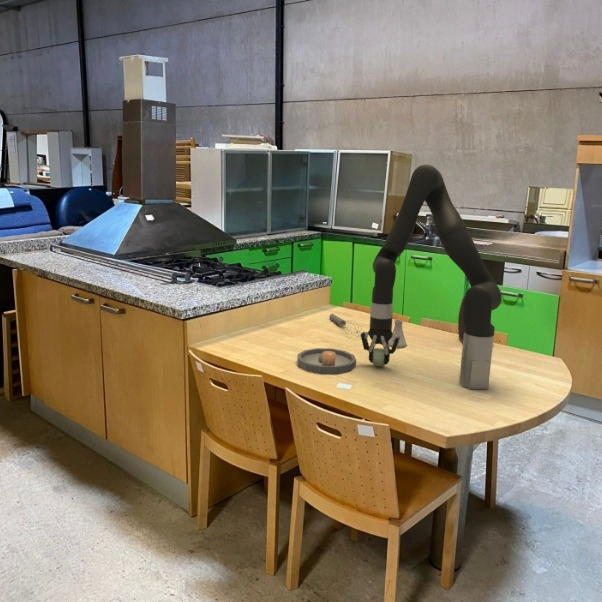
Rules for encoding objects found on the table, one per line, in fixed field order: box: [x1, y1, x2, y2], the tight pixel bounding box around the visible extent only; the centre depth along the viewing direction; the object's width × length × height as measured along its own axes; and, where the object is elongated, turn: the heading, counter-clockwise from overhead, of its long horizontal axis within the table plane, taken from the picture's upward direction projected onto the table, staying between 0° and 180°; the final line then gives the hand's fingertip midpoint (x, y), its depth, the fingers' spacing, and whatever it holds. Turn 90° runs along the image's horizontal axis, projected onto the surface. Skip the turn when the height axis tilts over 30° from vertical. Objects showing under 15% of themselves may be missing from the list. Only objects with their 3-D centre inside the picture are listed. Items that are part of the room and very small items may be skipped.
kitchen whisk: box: [328, 313, 362, 338], centre depth 257 cm, size 6×34×6 cm, turn 16°
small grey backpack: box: [457, 295, 465, 343], centre depth 240 cm, size 15×8×20 cm, turn 5°
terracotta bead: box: [322, 351, 335, 366], centre depth 206 cm, size 4×4×5 cm
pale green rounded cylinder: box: [371, 347, 385, 367], centre depth 210 cm, size 4×4×5 cm
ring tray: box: [296, 347, 357, 375], centre depth 212 cm, size 20×20×2 cm
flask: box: [388, 319, 408, 349], centre depth 235 cm, size 7×7×10 cm
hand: (378, 362), depth 211 cm, fingers closed on pale green rounded cylinder, 4 cm apart
